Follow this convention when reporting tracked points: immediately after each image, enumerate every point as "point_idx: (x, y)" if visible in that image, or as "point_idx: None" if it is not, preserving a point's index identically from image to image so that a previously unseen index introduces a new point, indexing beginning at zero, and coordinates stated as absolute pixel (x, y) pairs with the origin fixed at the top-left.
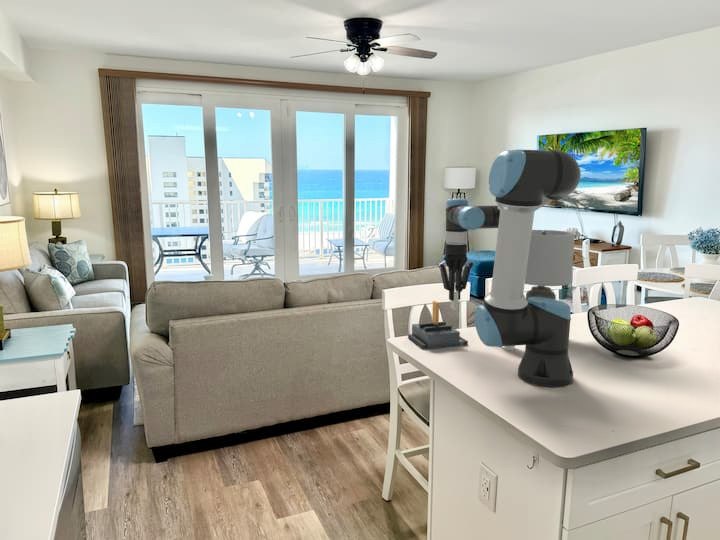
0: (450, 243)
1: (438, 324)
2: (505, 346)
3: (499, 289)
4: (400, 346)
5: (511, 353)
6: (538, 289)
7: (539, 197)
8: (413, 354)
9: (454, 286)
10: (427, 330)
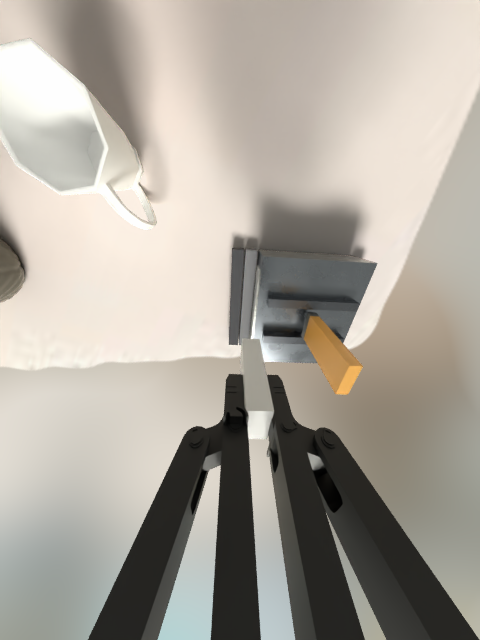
0: None
1: (308, 314)
2: (131, 147)
3: None
4: (386, 298)
5: (129, 92)
6: None
7: None
8: (413, 226)
9: (283, 456)
10: (349, 299)
